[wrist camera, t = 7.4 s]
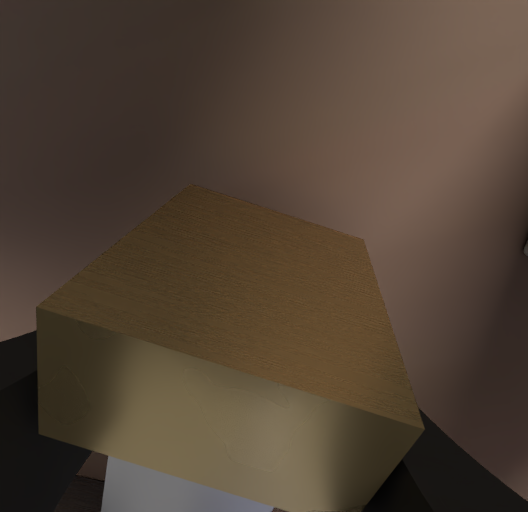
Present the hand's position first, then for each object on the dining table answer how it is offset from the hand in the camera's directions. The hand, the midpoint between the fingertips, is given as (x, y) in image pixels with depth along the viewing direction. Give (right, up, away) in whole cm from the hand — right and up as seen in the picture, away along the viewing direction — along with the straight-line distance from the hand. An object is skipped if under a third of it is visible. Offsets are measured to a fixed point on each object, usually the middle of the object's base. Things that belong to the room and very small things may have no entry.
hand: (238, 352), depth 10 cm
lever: (0, -1, +3) cm, 3 cm away
